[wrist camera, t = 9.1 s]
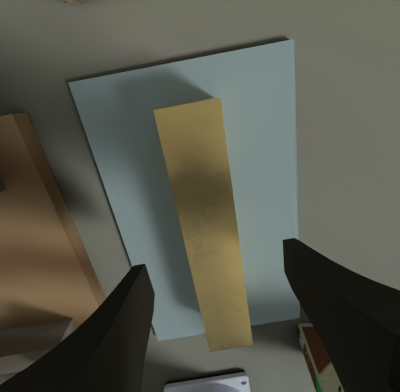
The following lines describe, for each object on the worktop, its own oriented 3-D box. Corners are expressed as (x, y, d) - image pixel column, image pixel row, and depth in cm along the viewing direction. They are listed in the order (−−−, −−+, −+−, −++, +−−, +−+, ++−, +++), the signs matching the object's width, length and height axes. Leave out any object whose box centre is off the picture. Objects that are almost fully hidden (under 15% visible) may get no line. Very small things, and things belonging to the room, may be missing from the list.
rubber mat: (298, 313, 20) (300, 318, 20) (158, 336, 21) (158, 341, 20) (291, 40, 13) (293, 38, 12) (71, 83, 13) (68, 82, 13)
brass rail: (243, 309, 19) (252, 344, 17) (206, 315, 20) (209, 351, 17) (213, 97, 13) (220, 97, 11) (160, 107, 13) (153, 110, 11)
